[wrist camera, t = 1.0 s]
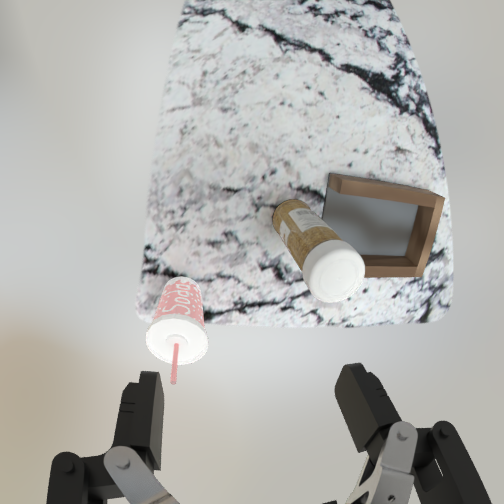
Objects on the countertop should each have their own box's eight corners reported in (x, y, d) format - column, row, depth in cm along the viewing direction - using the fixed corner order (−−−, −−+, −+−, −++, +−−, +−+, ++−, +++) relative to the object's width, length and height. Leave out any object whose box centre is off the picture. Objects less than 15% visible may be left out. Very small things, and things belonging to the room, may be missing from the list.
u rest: (329, 173, 31) (342, 179, 28) (428, 190, 33) (445, 197, 30) (313, 263, 35) (322, 277, 32) (408, 264, 38) (421, 276, 35)
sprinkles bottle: (264, 226, 33) (297, 294, 20) (285, 190, 31) (332, 239, 19) (298, 243, 34) (344, 312, 22) (319, 209, 33) (378, 264, 20)
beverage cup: (215, 281, 35) (221, 370, 22) (196, 319, 37) (195, 409, 24) (166, 263, 33) (146, 348, 20) (151, 303, 35) (131, 391, 22)
